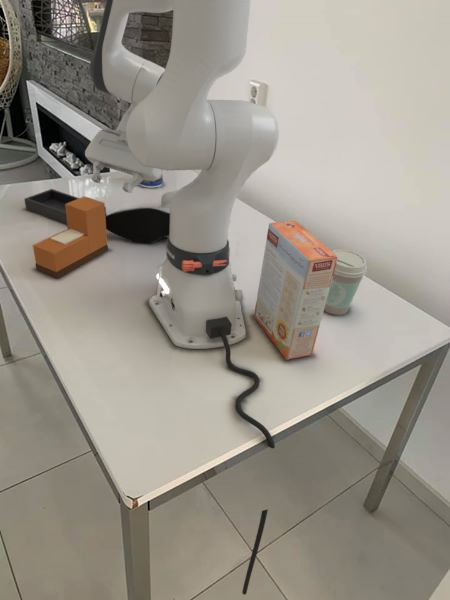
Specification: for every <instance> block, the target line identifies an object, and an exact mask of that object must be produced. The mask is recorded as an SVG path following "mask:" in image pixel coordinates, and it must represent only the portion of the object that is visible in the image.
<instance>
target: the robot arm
mask: <svg viewBox="0 0 450 600" xmlns="http://www.w3.org/2000/svg"><path fill="white" fill-rule="evenodd" d="M250 8H251V0H106V1H105V4H104V9H103V14H102V18H101V23H100V27H99V32H98V37H97V40H96V43H95V47H94V50H93V53H92V56H91V59H90V62H89V67H88V73H89V77H90V79H91V81H92V83H93V85H94V87H95V88H96V89H97V90H98V91H100V92H102V93H105V94H108V95H111V96H115V97H116V98H119V99H121V100H122V101H125V102H126V103H129V104H130V105H129V108H128V109H127V110H126V111H125V112H124V113H123V115H122V117H121V120H120V121H119V124H118V125H117V127H116V129H112V128H109V127H105V128H103V129H99V130H98V132H97V133H96V134H95V136H93V138H92V140H91V141H90V142H89V144H88V145H87V147H86V149H85V150H84V155H85V158H86V159H87V160H88V161H89V162H90V163H91V164H92V172H93V173H92V175H91V177H90V180H91V181H92V182H94V183H97V184H100V183H101V181H102V179H103V176H102V175H101V171H103V169H104V168H107V169H111V170H113V171H117V172H120V173H124V174H126V175H131V176H132V179H130V180H129V181H128V182H127V181H125V182H124V184H123V185H122V190H123V191H124V192H126V193H128V194H132V193H133V190H134V188H135V187H137V186H138V185H139V183H141V181H142V179H147V180H150V181H155V180H157V179H158V178H159V177H160V175H161V173H162V171H163V172H164V171H194V170H195V171H197V170H198V171H200V172H199V174H198V175H197V176H196V177H195V178H194V179H193V180H192V181H191V182H190V183H188V184H186V185H184V186H183V187H180V189H177V190H178V191H177V190H176V191H177V193H176V194H175V195H174V197H173V199H172V201H171V204H170V232H169V236H168V237H166V238H167V239H166V243H165V249H166V258H165V260H164V261H163V262H162V263H161V264H160V265H159V266H158V273H157V274H156V279H157V287H156V288H157V292H156V294H154V295H152V296H151V297H150V298H149V300H148V305H149V306H150V308H151V310H152V312H153V313H154V315H155V317H156V318H157V320H158V321H159V323H160V324H161V326H162V327H163V329H164V331H165V332H166V334H167V336H168V337H169V339H170V340H171V342H172V343H173V345H174V346H175V347H179V348H184V349H190V350H191V349H192V350H204V349H215V348H216V349H217V348H222V347H224V350H225V362H226V363H225V364H226V365H227V366H228V368H229V369H230V370H231V371H233V372H234V373H235V372H236V373H237V374H240V375H243V376H244V375H245V376H248V377H250V378H252V379H253V380H254V383H253V384H252V386H251V387H249V388H247V389H246V390H245V391H243V392H242V393H240V394H239V395H238V396H237V398H236V399H235V403H234V407H235V410H236V413H237V414H238V416H240V418H242V419H243V420H244V421H245V422H247V423H248V424H251V425H252V426H253V427H255V428H256V429H258V430H259V431H260V432H261V433H262V434H263V436H264V438H265V439H266V442H267V445H268V447H269V448H270V449H275V448H276V445H275V442H274V438H273V437H272V434H271V433H270V431H269V430H268V429H267V427H265V426H264V425H263V424H262V423H261V422H259V421H257V420H256V419H254V418H253V417H252V416H250V415H249V414H247V413H246V412H245V411H244V410H243V408H242V406H241V404H242V402H243V400H244V399H245V398H247V397H248V396H249V395H251V394H252V393H254V392H255V391H256V390H257V389H258V388H259V386H260V381H261V379H260V376H259V375H258V374H256V373H255V372H254V371H251V370H249V369H244V368H241V367H238V366H236V365H235V364H233V362H232V360H231V359H232V358H231V355H232V351H231V347H230V346H231V345H234V344H236V343H239V342H241V341H243V340H244V339H245V338H246V337H247V331H246V326H245V320H244V316H243V310H242V307H241V302H242V301H243V290H242V289H236V288H235V285H234V282H237V274H233V271H232V266H231V265H232V261H231V260H230V254H231V253H230V252H231V250H230V249H231V248H230V241H229V238H228V237H229V229H230V222H231V217H232V211H233V208H234V204H235V201H236V198H237V197H238V194H239V193H240V192H241V189H242V188H243V186H244V184H245V183H246V182H247V181H248V179H249V178H250V177H251V176H252V174H253V173H254V172H256V171H257V170H258V169H259V168H260V167H262V166H263V165H266V163H268V162H269V161H270V159H271V158H272V157H273V155H274V153H275V152H276V149H277V146H278V143H279V138H280V137H279V134H280V133H279V132H280V131H279V125H278V122H277V119H276V116H275V115H274V113H273V112H272V110H271V109H270V108H269V107H268V106H265V105H262V104H258V103H255V102H251V101H246V100H240V99H239V100H237V99H236V100H235V99H207V98H208V96H209V92H210V90H211V89H212V87H213V85H214V84H215V82H216V81H217V80H218V79H221V77H224V76H225V75H227V74H230V73H231V72H233V71H234V70H235V69H237V68H238V66H240V64H241V63H242V61H243V59H244V58H245V55H246V52H247V42H248V30H249V22H250V21H249V20H250ZM171 11H173V13H172V31H171V41H170V51H169V56H168V60H167V63H166V66H165V68H164V67H163V66H160V65H159V64H157V63H154V62H153V61H151V60H149V59H145V58H143V57H141V56H139V55H137V54H135V53H133V52H131V51H129V50H128V49H127V48H126V47H125V46H124V45H123V43H122V41H123V37H124V34H125V29H126V26H127V23H128V19H129V15H130V14H131V13H149V14H150V13H151V14H162V13H168V12H171ZM268 511H269V509H263V510H261V515H260V520H259V524H258V528H257V533H256V536H255V540H254V544H253V547H252V548H253V549H252V552H251V556H250V559H249V562H248V566H247V570H246V574H245V578H244V582H243V585H242V586H243V587H242V591H241V592H242V595H243V596H245V595H247V593H248V588H249V585H250V581H251V576H252V573H253V569H254V565H255V562H256V559H257V555H258V551H259V547H260V544H261V541H262V537H263V533H264V529H265V524H266V520H267V517H268Z"/></svg>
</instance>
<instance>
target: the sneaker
mask: <svg viewBox="0 0 450 600" xmlns="http://www.w3.org/2000/svg"><path fill="white" fill-rule="evenodd" d="M78 198H79V199H76V200H74V201H71V202H69V203H67V204H65V209H66V217H67V224H66V225H67V229H65V230H63V231H60V232H58V233H56V234H54V235H52V236H50V237H48V238H45V239H44V240H41V241H39V242H37V243H35V244H32V248H33V249H32V250H33V254H34V261H35V263H34V264H35V269H36V271H39V272H41V273H44V274H46V275H48V276H51V277H53V278H55V279H60V278H61V277H64V276H66V275H67V274H68V273H71V272H72V271H75V270H76V269H78V268H79V267H81V266H83V265H85V264H87V263H88V262H90V261H92V260H94V259H95V258H97V257H99V256H101V255H102V254H104V253H106V252H108V251H109V245H108V236H107V230H106V219H105V207H106V205H105V204H106V203H105V202H102V201H99V200H97V199H93V198H91V197H88V196H81V197H78Z"/></svg>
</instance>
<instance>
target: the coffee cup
mask: <svg viewBox="0 0 450 600" xmlns="http://www.w3.org/2000/svg"><path fill="white" fill-rule="evenodd" d="M331 251H332V252H333V253H334V254H336V255H337V256H338V259H337V263H336V267H335V271H334V274H333V278H332V282H331V285H330V289H329V293H328V296H327V300H326V304H325V308H324V311H323V312H325V313H328V314H330V315H335V316H341V315H344V314H346V313H347V312H348V310H349V309H350V306H351V304H352V301H353V300H354V297H355V295H356V292H357V290H358V288H359V286H360V284H361V282H362V279H363V277H364V276H365V275H366V274H367V273H368V271H367V269H368V266H367V260H366V258H365V257H364V256H363V255H362V254H360V253H358V252H355V251H353V250H349V249H334V250H331Z"/></svg>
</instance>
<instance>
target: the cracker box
mask: <svg viewBox="0 0 450 600" xmlns="http://www.w3.org/2000/svg"><path fill="white" fill-rule="evenodd" d="M332 251H333V250H331V249H330V248H328V247H327V246H326V245H325V244H324V243H323V242H321V241H320V240H319V239H318V238H317V237H315V236H314V235H313V234H312V233H311V232H310V231H308V230H307V229H306V228H305V227H303V226H302V225H301V224H300V223H299V222H298V221H297V220H290V221H289V220H288V221H279V222H278V221H277V222H269V223H268V229H267V235H266V240H265V247H264V253H263V259H262V265H261V271H260V277H259V282H258V288H257V295H256V302H255V307H254V308H255V309H254V313H253V317H254V319H255V320H256V321H257V323H258V324H259V326H260V327H261V328H262V330H264V332H265V333H266V335H267V336H268V338H269V339H270V340H271V342H272V343H273V345H274V346H275V347H276V348H277V350H278V351H279V353H280V354H281V356H282V357H283V358H284V360H285V361H289V360H294V359H299V358H302V357H308V356H312V355H313V352H314V348H315V345H316V341H317V337H318V334H319V329H320V327H321V322H322V320H323V319H322V318H323V315H324V312H325V311H324V308H325V304H326V300H327V296H328V293H329V289H330V285H331V282H332V278H333V274H334V271H335V267H336V263H337V259H338V256H337V255H336V254H334V253H333V252H332Z"/></svg>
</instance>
